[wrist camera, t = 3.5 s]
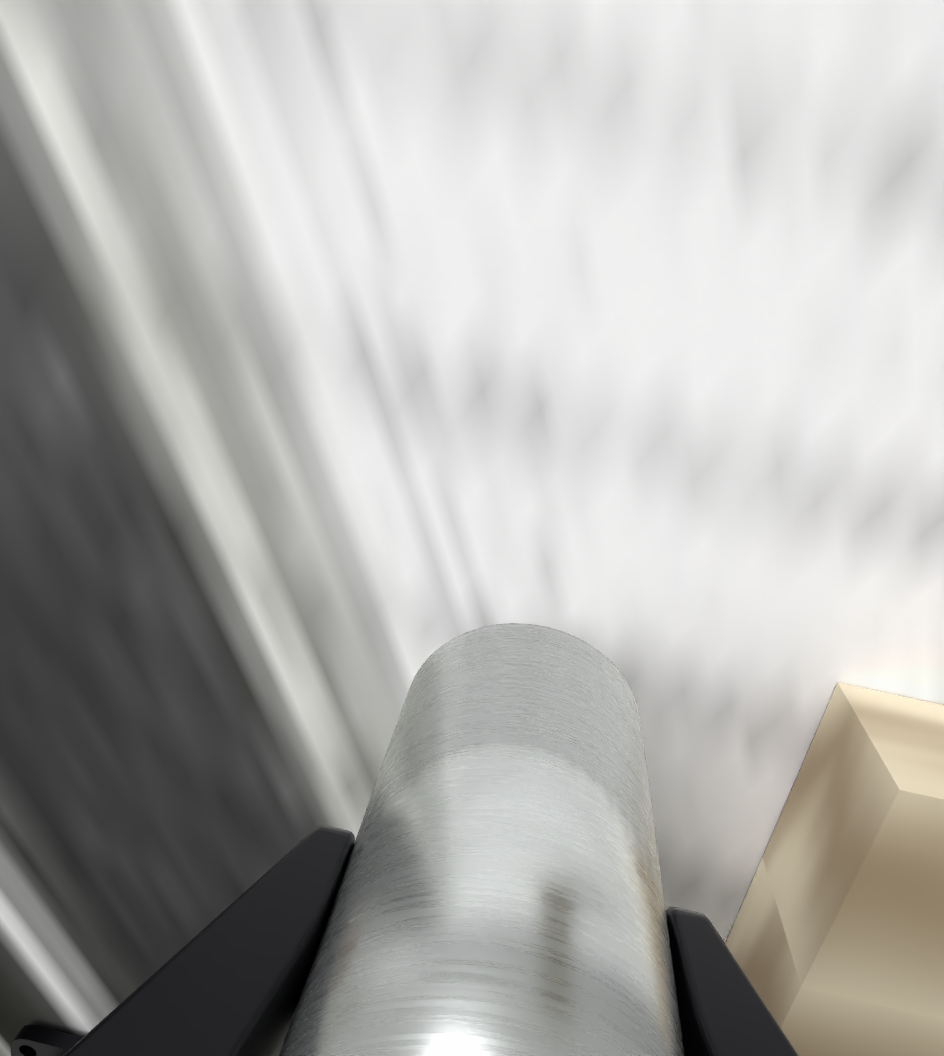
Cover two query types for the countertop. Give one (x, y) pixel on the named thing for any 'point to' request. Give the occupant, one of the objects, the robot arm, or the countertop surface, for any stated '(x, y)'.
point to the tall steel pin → (501, 870)
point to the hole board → (855, 886)
